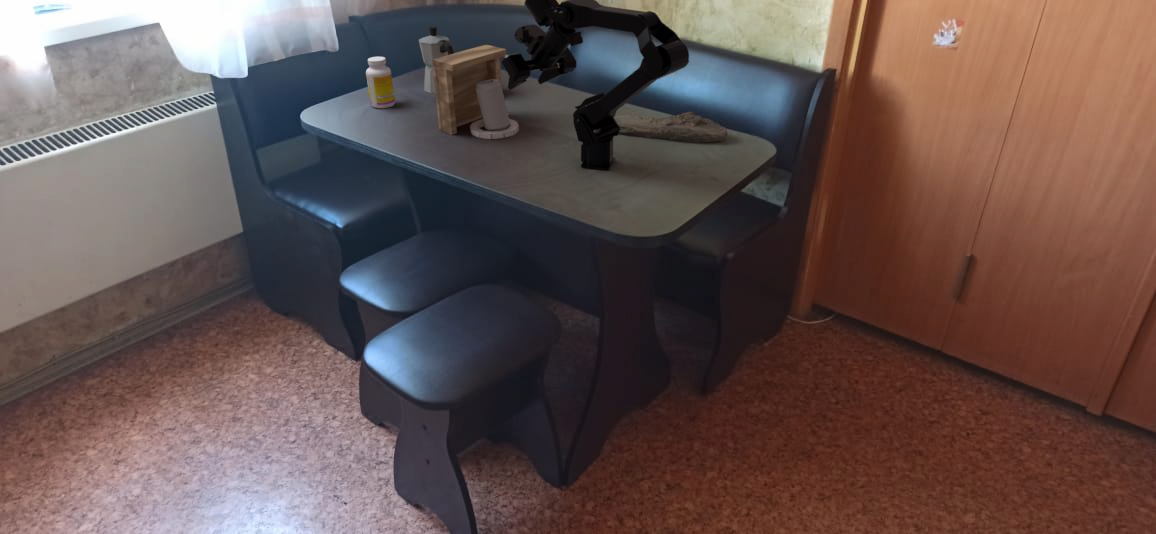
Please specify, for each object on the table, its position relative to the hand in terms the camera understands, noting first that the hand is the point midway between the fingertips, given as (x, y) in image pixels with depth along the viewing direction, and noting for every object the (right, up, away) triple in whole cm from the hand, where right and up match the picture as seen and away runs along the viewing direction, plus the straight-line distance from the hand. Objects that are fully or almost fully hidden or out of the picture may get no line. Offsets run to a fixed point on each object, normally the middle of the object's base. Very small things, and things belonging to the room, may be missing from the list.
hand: (524, 85), depth 185 cm
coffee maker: (-27, +8, +41) cm, 50 cm away
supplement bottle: (-41, +1, +30) cm, 51 cm away
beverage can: (-7, -8, +12) cm, 16 cm away
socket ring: (-8, -8, +13) cm, 18 cm away
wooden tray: (-14, -6, +17) cm, 23 cm away
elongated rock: (+32, -10, +11) cm, 36 cm away
